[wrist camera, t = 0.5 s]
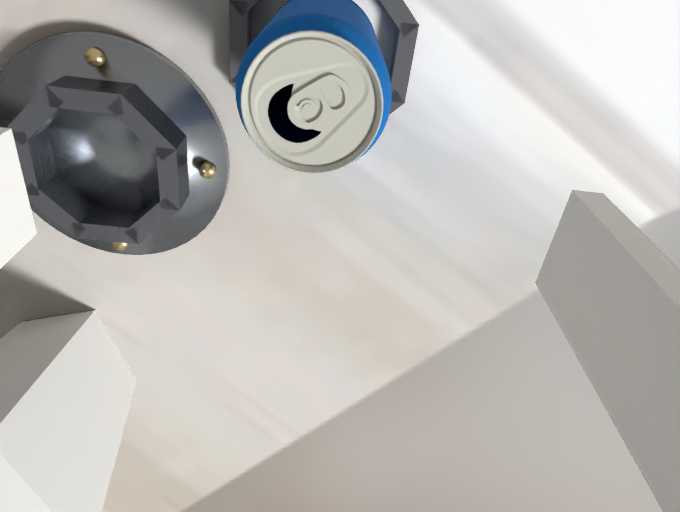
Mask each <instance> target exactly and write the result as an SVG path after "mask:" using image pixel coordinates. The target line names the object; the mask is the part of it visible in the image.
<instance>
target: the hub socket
mask: <svg viewBox="0 0 680 512" xmlns="http://www.w3.org/2000/svg"><path fill="white" fill-rule="evenodd" d="M0 127H3V128H11V129H12V133H13V137H14V141H15V145H16V149H17V153H18V158H19V162H20V166H21V170H22V174H23V178H24V182H25V186H26V190H27V194H28V199H29V203H30V207H31V209H32V210H33V211H34V212H35V213H36V214H37V215H38V216H39V217H41V218H42V219H43V220H44V221H45V222H47V223H48V224H50V225H51V226H52V227H54V228H55V229H57V230H58V231H60V232H62V233H63V234H65V235H67V236H68V237H70V238H72V239H74V240H77V241H79V242H81V243H83V244H86V245H88V246H91V247H94V248H97V249H100V250H104V251H108V252H113V253H120V254H131V255H143V254H153V253H159V252H164V251H167V250H170V249H173V248H176V247H178V246H180V245H182V244H184V243H187V242H188V241H190V240H191V239H193V238H194V237H196V236H197V235H198V234H199V233H200V232H201V231H202V230H204V229H205V228H206V226H207V225H208V224H209V223H210V221H211V220H212V219H213V218H214V216H215V214H216V212H217V211H218V209H219V207H220V205H221V202H222V200H223V197H224V195H225V192H226V188H227V184H228V179H229V152H228V147H227V142H226V138H225V135H224V132H223V129H222V126H221V123H220V121H219V119H218V117H217V115H216V113H215V111H214V109H213V107H212V106H211V104H210V103H209V101H208V99H207V98H206V96H205V95H204V93H203V92H202V91H201V90H200V89H199V87H198V86H197V85H196V84H195V83H194V81H193V80H192V79H191V78H190V77H189V76H188V75H187V74H186V73H185V72H183V71H182V70H181V69H180V68H179V67H178V66H176V65H175V64H174V63H173V62H171V61H170V60H169V59H167V58H166V57H165V56H163V55H161V54H160V53H158V52H156V51H155V50H153V49H151V48H149V47H147V46H145V45H143V44H141V43H139V42H137V41H134V40H131V39H128V38H125V37H122V36H119V35H115V34H110V33H104V32H96V31H75V32H66V33H62V34H58V35H54V36H50V37H47V38H44V39H42V40H40V41H38V42H35V43H33V44H31V45H29V46H28V47H26V48H25V49H23V50H22V51H20V52H19V53H17V54H16V55H15V56H14V57H13V58H12V59H11V60H10V61H9V62H8V63H7V65H6V66H5V67H4V69H3V70H2V72H1V73H0Z"/></svg>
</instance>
